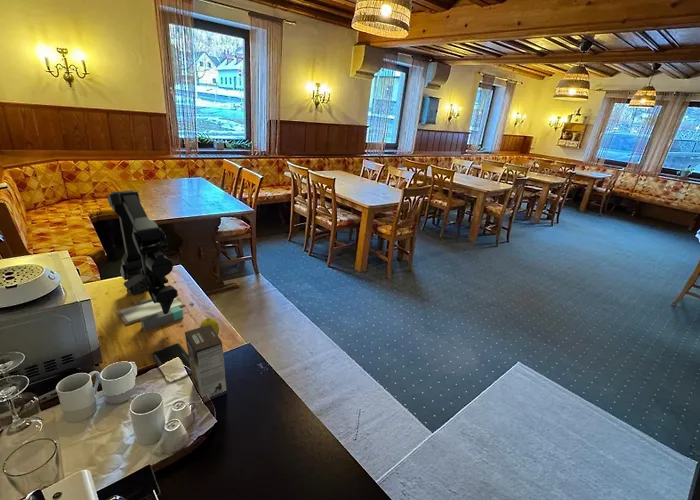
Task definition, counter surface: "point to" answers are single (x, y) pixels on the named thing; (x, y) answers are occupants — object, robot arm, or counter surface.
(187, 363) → the phone
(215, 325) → the lemon
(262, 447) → the counter surface
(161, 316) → the dark gray rectangular block
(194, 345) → the coffee box
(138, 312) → the cream flat piece
